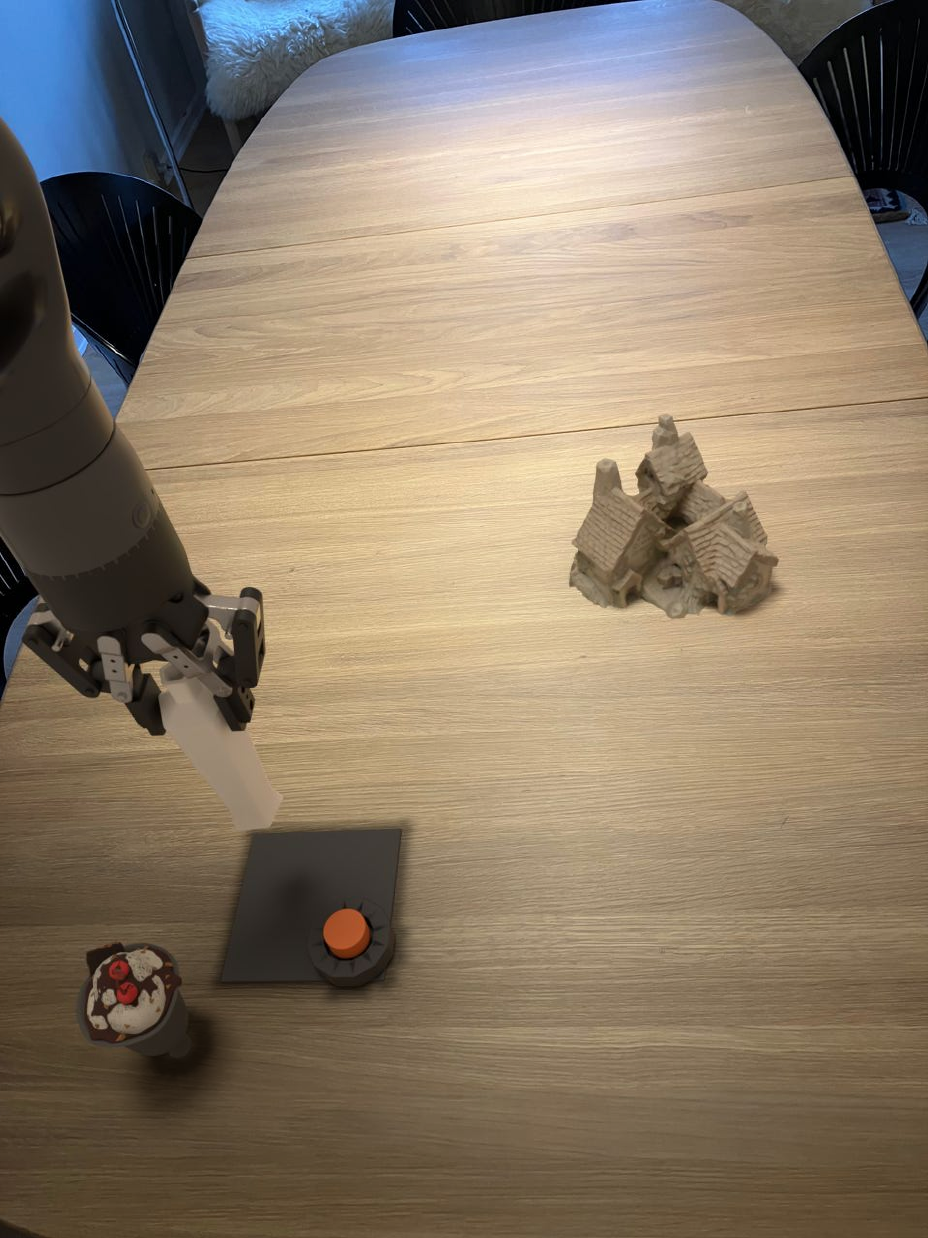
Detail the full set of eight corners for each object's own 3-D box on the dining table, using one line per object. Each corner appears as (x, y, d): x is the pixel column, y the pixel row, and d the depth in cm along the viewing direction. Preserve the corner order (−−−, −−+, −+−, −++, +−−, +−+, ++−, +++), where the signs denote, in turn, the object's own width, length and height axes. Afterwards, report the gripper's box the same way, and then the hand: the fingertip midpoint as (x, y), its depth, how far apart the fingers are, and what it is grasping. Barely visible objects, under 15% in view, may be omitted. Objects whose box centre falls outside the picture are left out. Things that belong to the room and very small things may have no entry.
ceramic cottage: (550, 562, 98) (542, 439, 86) (702, 504, 101) (714, 378, 89) (628, 680, 88) (632, 560, 77) (794, 613, 91) (822, 487, 79)
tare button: (325, 959, 72) (320, 949, 71) (332, 919, 74) (326, 909, 73) (367, 958, 71) (362, 949, 70) (373, 918, 73) (367, 908, 72)
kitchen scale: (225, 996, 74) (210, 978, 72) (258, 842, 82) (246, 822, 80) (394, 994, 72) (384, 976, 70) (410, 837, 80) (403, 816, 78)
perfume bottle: (208, 820, 71) (121, 685, 60) (250, 773, 73) (173, 635, 63) (256, 849, 69) (174, 714, 58) (298, 799, 71) (226, 661, 60)
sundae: (230, 1095, 69) (143, 1006, 58) (133, 1109, 70) (29, 1023, 59) (237, 999, 74) (157, 900, 63) (146, 1012, 74) (51, 917, 63)
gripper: (235, 457, 53) (322, 668, 65) (-19, 482, 55) (112, 681, 68) (202, 560, 48) (303, 768, 60) (-77, 582, 50) (76, 778, 62)
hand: (201, 721), depth 64 cm, fingers closed on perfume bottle, 4 cm apart
